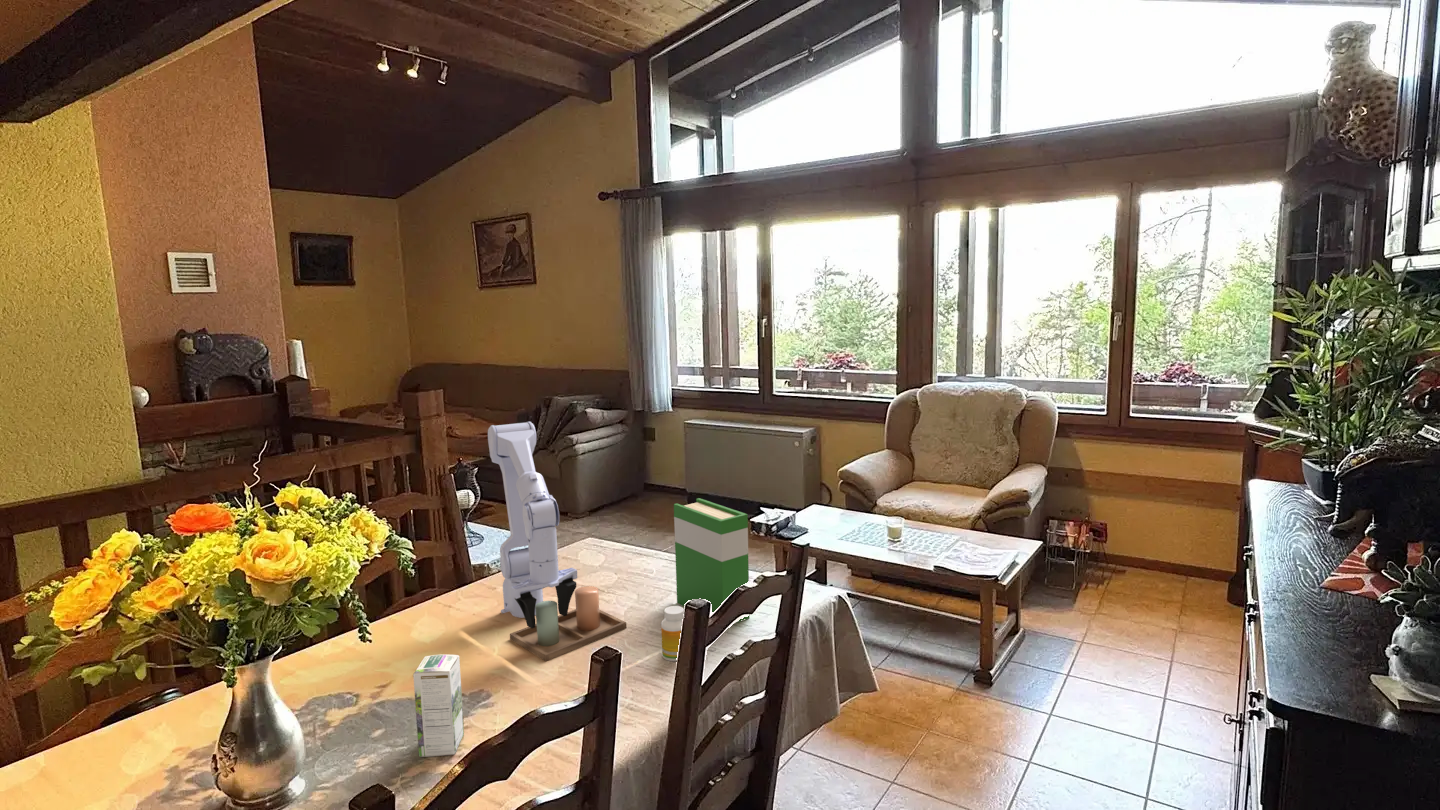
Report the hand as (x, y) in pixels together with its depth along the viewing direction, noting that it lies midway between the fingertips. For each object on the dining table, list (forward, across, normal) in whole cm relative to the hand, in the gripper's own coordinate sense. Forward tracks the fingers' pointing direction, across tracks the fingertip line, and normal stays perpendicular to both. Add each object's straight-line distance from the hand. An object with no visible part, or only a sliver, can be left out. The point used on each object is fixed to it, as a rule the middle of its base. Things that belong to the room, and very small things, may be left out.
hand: (547, 620), depth 154 cm
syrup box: (+6, -31, -18) cm, 36 cm away
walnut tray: (+5, +5, 0) cm, 7 cm away
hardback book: (+6, +35, -13) cm, 38 cm away
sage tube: (+5, 0, 0) cm, 5 cm away
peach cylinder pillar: (+5, +10, 0) cm, 11 cm away
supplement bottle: (+6, +15, -23) cm, 28 cm away
